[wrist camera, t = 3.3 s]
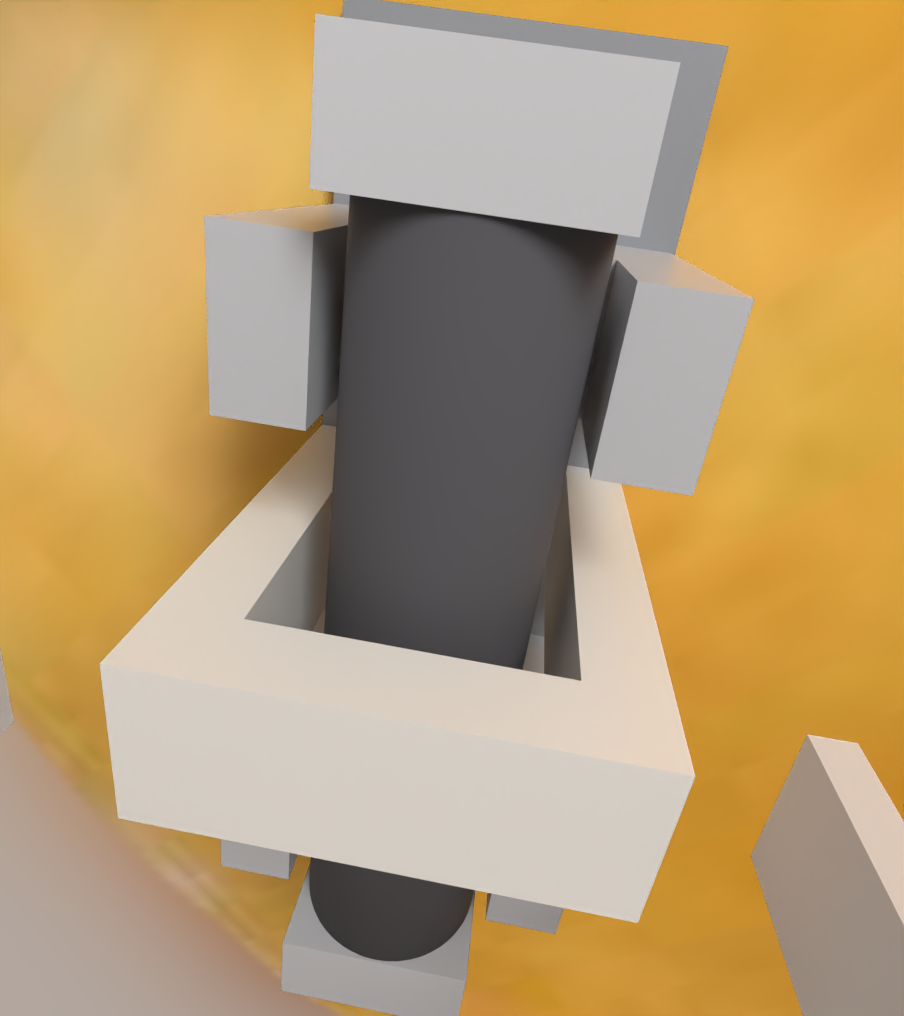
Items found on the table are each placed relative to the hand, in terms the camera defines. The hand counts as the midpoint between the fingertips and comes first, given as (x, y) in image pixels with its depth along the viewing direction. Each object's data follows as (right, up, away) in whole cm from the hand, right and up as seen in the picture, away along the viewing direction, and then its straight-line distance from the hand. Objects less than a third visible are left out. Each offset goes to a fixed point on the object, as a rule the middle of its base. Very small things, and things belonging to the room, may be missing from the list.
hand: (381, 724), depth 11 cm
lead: (+1, +2, +4) cm, 5 cm away
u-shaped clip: (+1, +4, +8) cm, 9 cm away
